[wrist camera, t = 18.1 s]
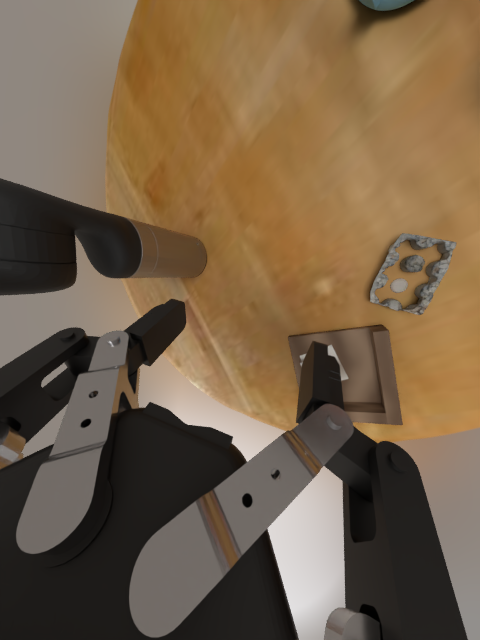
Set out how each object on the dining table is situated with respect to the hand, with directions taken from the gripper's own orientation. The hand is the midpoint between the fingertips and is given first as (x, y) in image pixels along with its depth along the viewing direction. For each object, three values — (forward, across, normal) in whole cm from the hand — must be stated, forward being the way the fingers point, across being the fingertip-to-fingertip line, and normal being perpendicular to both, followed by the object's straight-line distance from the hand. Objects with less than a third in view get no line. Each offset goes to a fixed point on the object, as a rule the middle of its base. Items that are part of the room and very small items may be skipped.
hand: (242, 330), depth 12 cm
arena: (+21, -16, +21) cm, 33 cm away
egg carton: (+27, -18, +3) cm, 33 cm away
